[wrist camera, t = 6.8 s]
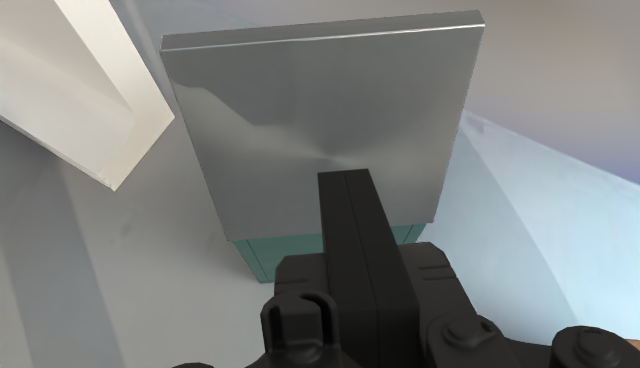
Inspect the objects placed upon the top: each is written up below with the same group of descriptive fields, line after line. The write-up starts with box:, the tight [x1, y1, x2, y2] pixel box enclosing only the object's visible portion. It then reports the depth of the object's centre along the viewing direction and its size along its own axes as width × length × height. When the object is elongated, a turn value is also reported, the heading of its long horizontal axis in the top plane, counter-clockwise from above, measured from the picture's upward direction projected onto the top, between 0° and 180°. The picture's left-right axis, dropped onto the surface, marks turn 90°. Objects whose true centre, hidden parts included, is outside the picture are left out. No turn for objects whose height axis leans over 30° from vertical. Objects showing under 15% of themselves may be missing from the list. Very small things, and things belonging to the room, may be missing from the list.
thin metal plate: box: [159, 10, 485, 241], centre depth 21 cm, size 12×11×1 cm
